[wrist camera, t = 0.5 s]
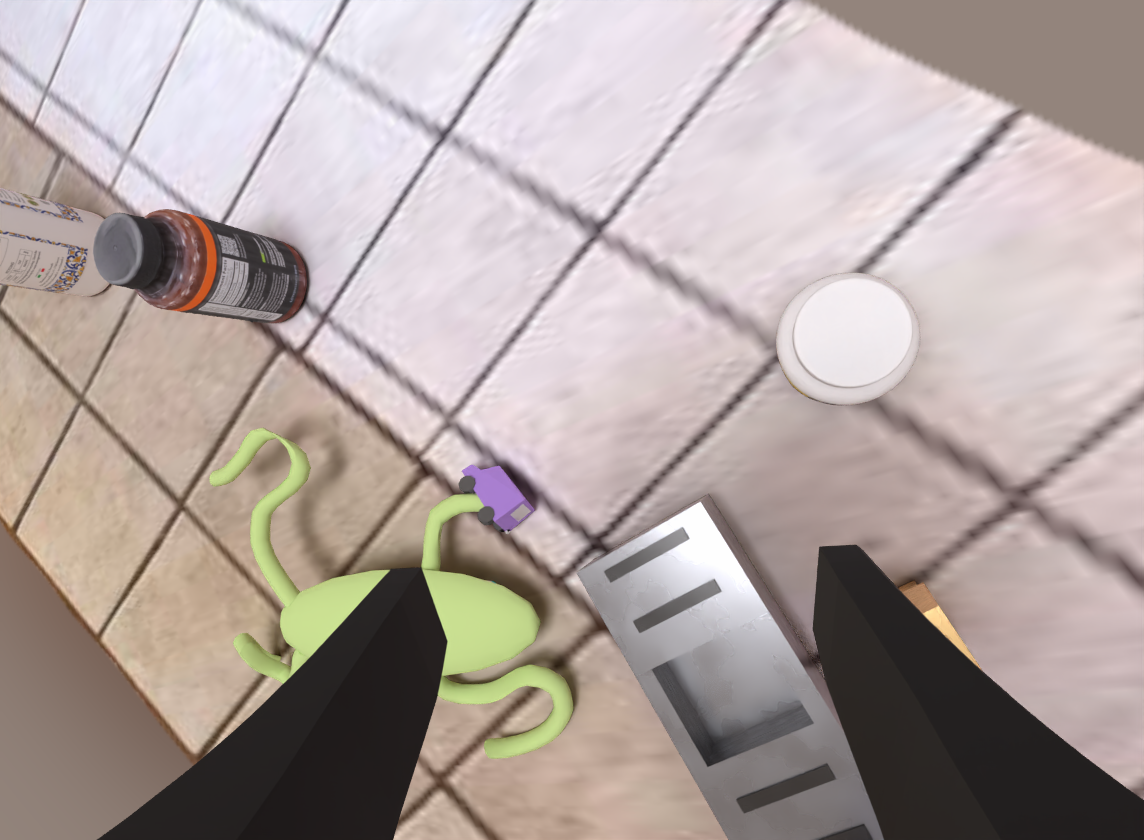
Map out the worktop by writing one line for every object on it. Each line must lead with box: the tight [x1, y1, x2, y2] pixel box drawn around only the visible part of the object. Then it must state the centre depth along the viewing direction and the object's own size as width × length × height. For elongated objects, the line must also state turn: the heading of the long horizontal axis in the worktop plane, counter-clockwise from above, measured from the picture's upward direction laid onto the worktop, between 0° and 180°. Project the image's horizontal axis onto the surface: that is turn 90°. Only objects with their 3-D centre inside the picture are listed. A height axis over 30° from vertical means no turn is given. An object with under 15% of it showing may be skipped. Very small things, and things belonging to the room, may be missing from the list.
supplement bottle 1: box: [93, 209, 307, 323], centre depth 39 cm, size 6×6×11 cm
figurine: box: [209, 428, 574, 759], centre depth 39 cm, size 18×27×6 cm
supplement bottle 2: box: [776, 273, 920, 405], centre depth 27 cm, size 5×5×10 cm
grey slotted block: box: [577, 494, 884, 840], centre depth 32 cm, size 18×8×3 cm, turn 34°
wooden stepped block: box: [898, 580, 982, 670], centre depth 28 cm, size 4×4×6 cm
